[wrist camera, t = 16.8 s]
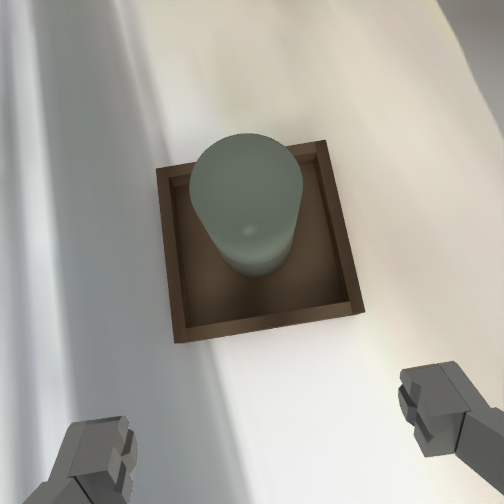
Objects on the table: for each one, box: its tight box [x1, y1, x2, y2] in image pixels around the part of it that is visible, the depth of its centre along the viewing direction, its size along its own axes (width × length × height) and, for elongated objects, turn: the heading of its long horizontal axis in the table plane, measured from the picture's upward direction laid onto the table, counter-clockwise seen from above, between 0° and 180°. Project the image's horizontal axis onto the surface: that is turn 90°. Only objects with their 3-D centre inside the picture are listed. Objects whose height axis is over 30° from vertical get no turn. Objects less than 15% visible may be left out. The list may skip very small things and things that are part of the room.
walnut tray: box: [156, 140, 365, 343], centre depth 26 cm, size 12×12×2 cm
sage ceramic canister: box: [189, 134, 303, 278], centre depth 21 cm, size 5×5×10 cm
